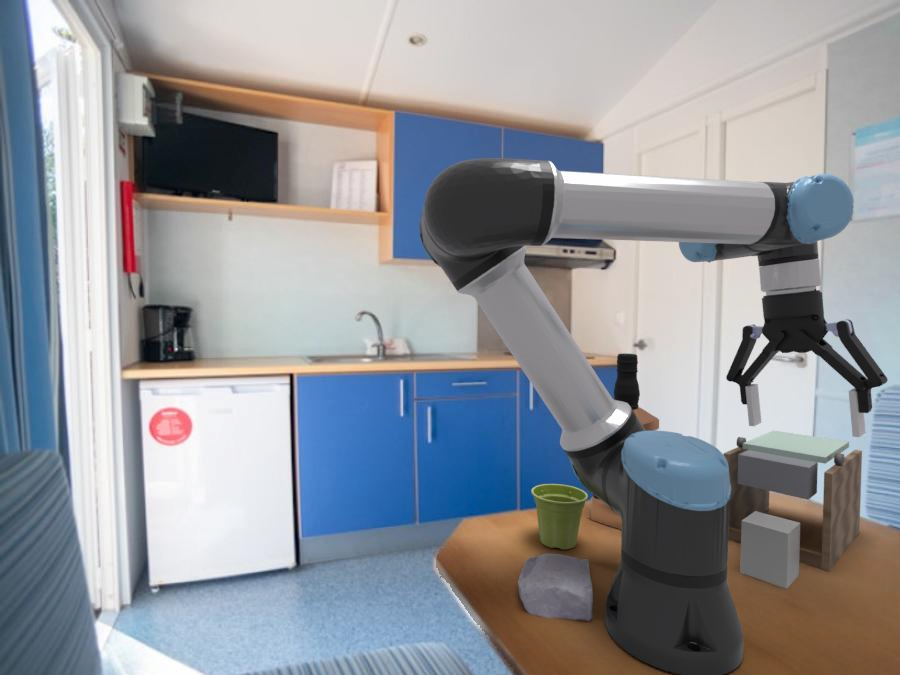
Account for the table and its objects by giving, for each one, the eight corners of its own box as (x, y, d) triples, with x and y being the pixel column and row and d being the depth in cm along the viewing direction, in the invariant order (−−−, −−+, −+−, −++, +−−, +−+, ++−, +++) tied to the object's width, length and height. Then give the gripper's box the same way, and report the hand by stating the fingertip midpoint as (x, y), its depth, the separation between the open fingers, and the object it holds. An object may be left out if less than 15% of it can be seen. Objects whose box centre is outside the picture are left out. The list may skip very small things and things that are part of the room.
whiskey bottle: (613, 505, 101) (616, 351, 100) (661, 519, 94) (664, 354, 93) (586, 518, 94) (589, 353, 93) (636, 535, 87) (639, 356, 86)
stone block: (520, 629, 63) (600, 624, 61) (513, 592, 63) (592, 585, 61) (525, 585, 74) (592, 579, 72) (519, 553, 75) (585, 546, 73)
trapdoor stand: (829, 571, 75) (832, 461, 74) (721, 537, 86) (723, 442, 86) (859, 532, 89) (862, 440, 89) (763, 507, 101) (765, 426, 100)
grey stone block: (786, 589, 70) (788, 533, 69) (740, 572, 74) (741, 520, 74) (798, 575, 74) (800, 522, 73) (754, 560, 78) (755, 511, 78)
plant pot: (558, 526, 90) (559, 480, 90) (598, 546, 82) (599, 495, 82) (519, 538, 85) (520, 489, 85) (558, 560, 77) (559, 506, 77)
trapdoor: (816, 501, 75) (817, 462, 75) (731, 482, 84) (732, 447, 84) (848, 474, 89) (849, 441, 89) (772, 460, 99) (773, 430, 98)
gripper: (907, 279, 66) (920, 433, 67) (718, 298, 86) (730, 416, 87) (891, 282, 62) (905, 447, 62) (696, 301, 82) (709, 425, 83)
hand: (803, 429), depth 75 cm, fingers open, 13 cm apart
